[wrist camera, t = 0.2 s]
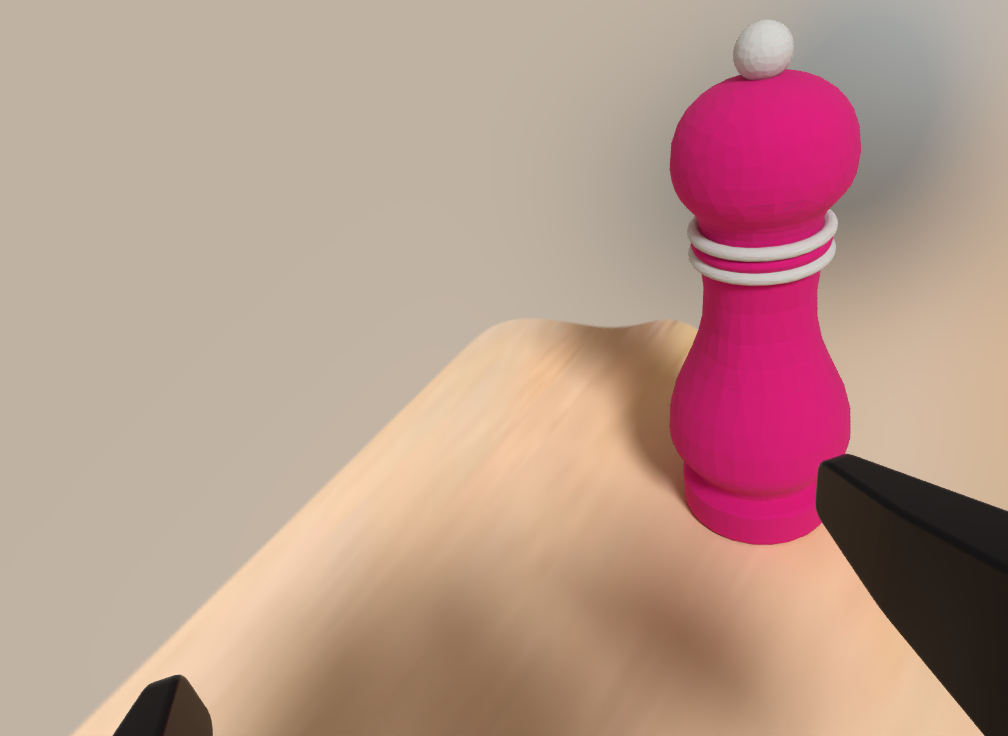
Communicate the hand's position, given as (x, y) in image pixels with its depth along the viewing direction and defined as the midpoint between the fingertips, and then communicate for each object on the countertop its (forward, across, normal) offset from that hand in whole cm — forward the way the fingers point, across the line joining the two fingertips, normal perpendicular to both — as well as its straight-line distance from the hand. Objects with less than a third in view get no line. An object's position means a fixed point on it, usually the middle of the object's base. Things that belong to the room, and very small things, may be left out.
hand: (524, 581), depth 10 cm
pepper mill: (+15, -13, +16) cm, 26 cm away
